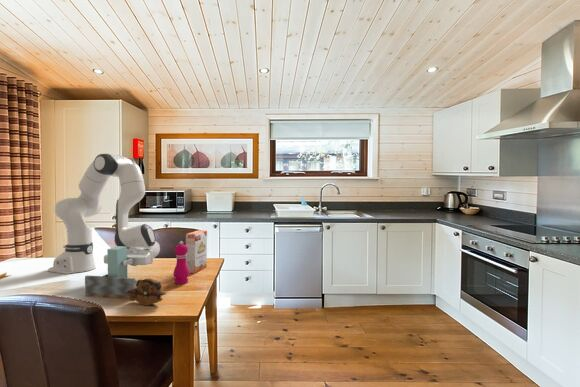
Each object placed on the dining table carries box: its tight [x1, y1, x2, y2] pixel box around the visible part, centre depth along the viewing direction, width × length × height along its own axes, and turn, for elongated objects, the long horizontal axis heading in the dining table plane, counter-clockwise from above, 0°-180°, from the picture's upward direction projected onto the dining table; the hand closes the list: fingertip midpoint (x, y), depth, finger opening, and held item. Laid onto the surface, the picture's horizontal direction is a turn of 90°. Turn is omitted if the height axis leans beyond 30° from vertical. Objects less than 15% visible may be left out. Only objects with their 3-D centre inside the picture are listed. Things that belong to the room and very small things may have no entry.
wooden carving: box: [127, 277, 167, 306], centre depth 130 cm, size 16×5×10 cm, turn 80°
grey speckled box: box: [84, 273, 138, 300], centre depth 145 cm, size 22×18×8 cm
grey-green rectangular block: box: [106, 246, 129, 278], centre depth 142 cm, size 4×6×16 cm
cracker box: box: [185, 229, 208, 274], centre depth 179 cm, size 14×6×21 cm, turn 168°
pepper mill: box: [173, 240, 190, 285], centre depth 157 cm, size 7×7×20 cm
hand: (116, 263), depth 141 cm, fingers closed on grey-green rectangular block, 4 cm apart
